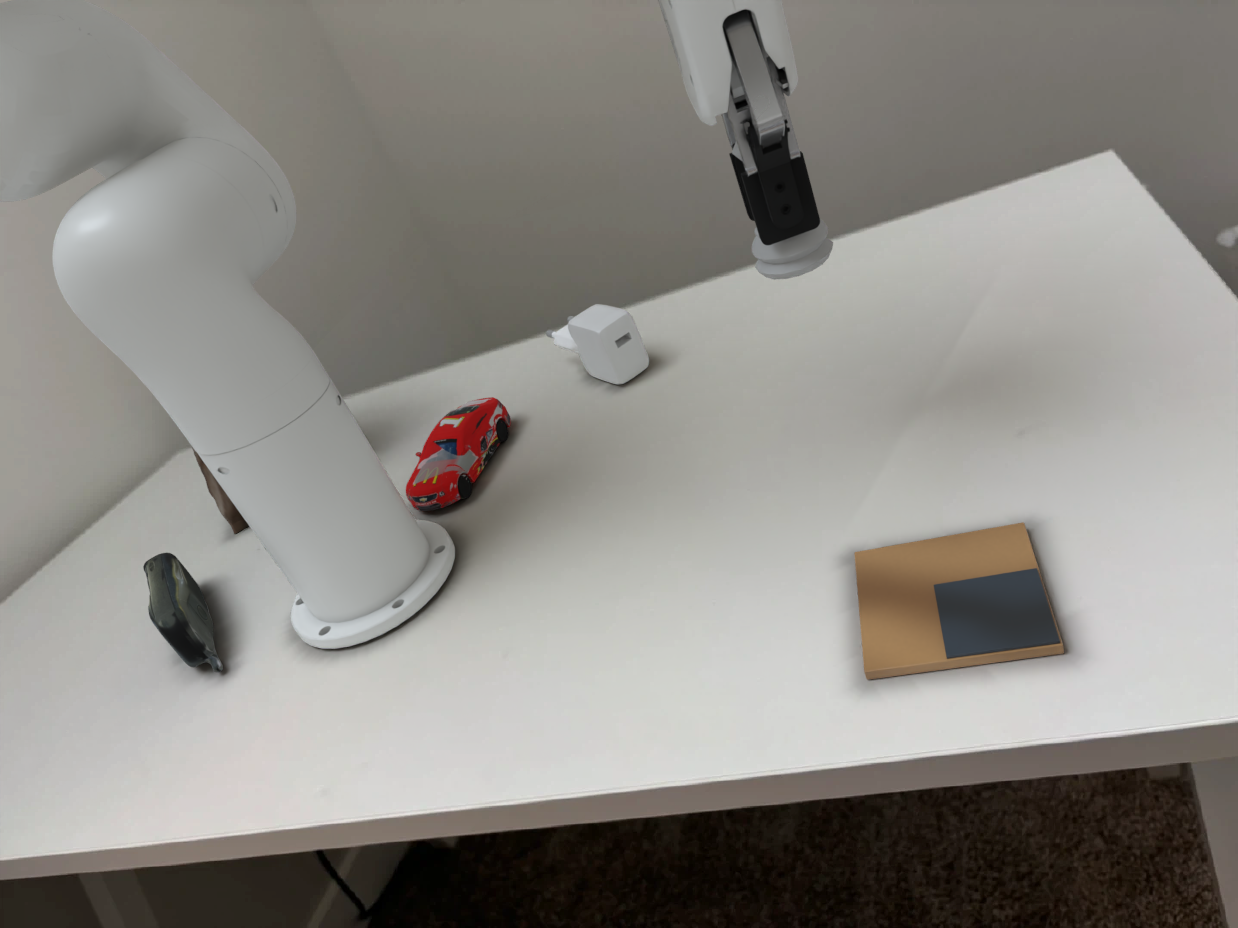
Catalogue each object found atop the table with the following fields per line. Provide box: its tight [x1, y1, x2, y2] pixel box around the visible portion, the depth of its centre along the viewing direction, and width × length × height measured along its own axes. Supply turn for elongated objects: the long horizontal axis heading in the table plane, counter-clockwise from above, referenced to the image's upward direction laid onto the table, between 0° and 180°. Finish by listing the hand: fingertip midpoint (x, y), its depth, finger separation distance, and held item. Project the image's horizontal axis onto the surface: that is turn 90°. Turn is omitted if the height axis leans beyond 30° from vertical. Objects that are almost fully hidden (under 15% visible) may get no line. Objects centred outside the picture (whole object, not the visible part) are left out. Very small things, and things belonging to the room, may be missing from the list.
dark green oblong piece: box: [142, 552, 224, 673], centre depth 72 cm, size 5×3×15 cm
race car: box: [405, 396, 512, 512], centre depth 79 cm, size 13×5×4 cm, turn 160°
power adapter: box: [545, 303, 650, 385], centre depth 85 cm, size 11×5×6 cm, turn 36°
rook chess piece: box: [731, 122, 834, 280], centre depth 51 cm, size 4×4×8 cm
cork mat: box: [853, 521, 1065, 681], centre depth 48 cm, size 9×9×1 cm
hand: (783, 219), depth 52 cm, fingers closed on rook chess piece, 3 cm apart
